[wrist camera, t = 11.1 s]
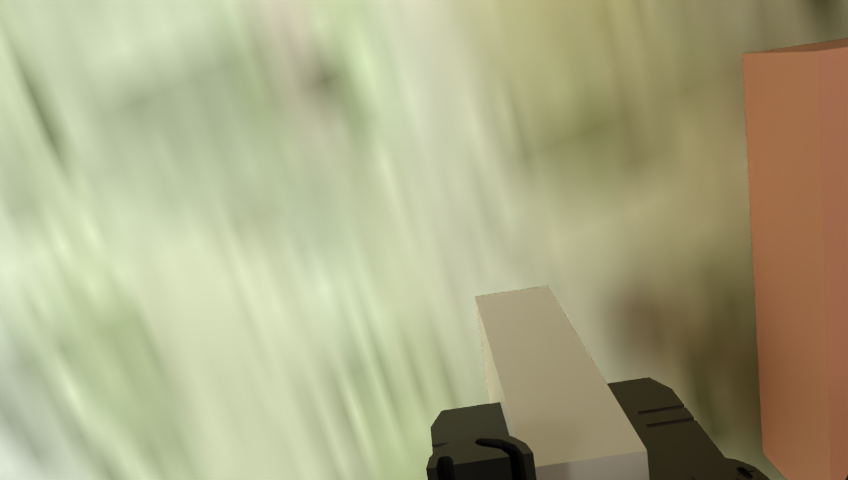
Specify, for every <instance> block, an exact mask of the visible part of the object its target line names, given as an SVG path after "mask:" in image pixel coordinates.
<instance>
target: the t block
mask: <svg viewBox="0 0 848 480" xmlns="http://www.w3.org/2000/svg"><path fill="white" fill-rule="evenodd" d="M742 58H743V77H744V97H745V116H746V136H747V155H748V175H749V194H750V214H751V233H752V253H753V272H754V292H755V311H756V331H757V350H758V370H759V389H760V408H761V428H762V447H763V454H764V455H765V456H766V457H767V458H768V460H769V461H770V462H771V463H772V464H773V465H774V466H775V467H776V468H777V469H778V470H779V472H780V473H781V474H782V475H783V476H784V477H785V478H786V479H787V480H845V479H846V477H847V475H848V38H847V39H840V40H833V41H826V42H820V43H813V44H806V45H799V46H792V47H785V48H778V49H772V50H765V51H758V52H751V53H744V54H742Z"/></svg>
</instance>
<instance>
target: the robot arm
mask: <svg viewBox="0 0 848 480" xmlns="http://www.w3.org/2000/svg"><path fill="white" fill-rule="evenodd" d="M475 300H476V307H477V315H478V322H479V329H480V336H481V344H482V351H483V358H484V365H485V373H486V380H487V387H488V394H489V401H490V404H484V405H477V406H471V407H464V408H457V409H450V410H444V411H441V413H440V414H439V416H438V417H437V419H436V420H435V422H434V423H433V425H432V426H431V436H432V447H433V455H432V456H431V457H430V458H429V461H428V465H427V468H426V470H427V476H428V480H769V478H768V477H767V476H765V475H764V474H763V473H762V472H760V471H759V470H758V469H757V468H755V467H754V466H751V465H749V464H746V463H744V462H741V461H738V460H735V459H729V458H725V457H724V456H723V454H722V453H721V452H720V451H719V449H718V448H717V447H716V445H715V444H714V443H713V442H712V440H711V439H710V438H709V436H708V435H707V434H706V433H705V431H704V430H703V429H702V427H701V426H700V425H699V424H698V422H697V421H694V417H693V416H692V415H691V413H690V412H689V411H688V409H687V408H684V404H683V403H682V402H681V400H680V399H679V398H678V397H677V395H676V394H675V393H674V391H673V390H672V389H671V388H669V387H667V386H665V385H663V384H661V383H659V382H657V381H655V380H653V379H651V378H642V379H635V380H629V381H622V382H615V383H609V384H607V383H606V381H605V380H604V378H603V377H602V375H601V373H600V372H599V370H598V368H597V367H596V365H595V363H594V362H593V360H592V358H591V357H590V355H589V353H588V352H587V350H586V348H585V347H584V345H583V343H582V342H581V340H580V338H579V337H578V335H577V333H576V332H575V330H574V328H573V327H572V325H571V323H570V322H569V320H568V318H567V317H566V315H565V313H564V312H563V310H562V308H561V307H560V305H559V303H558V302H557V300H556V298H555V297H554V295H553V293H552V292H551V290H550V288H549V287H548V286H542V287H535V288H528V289H522V290H515V291H508V292H502V293H495V294H488V295H482V296H475ZM845 480H848V475H847V477H846V479H845Z"/></svg>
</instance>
